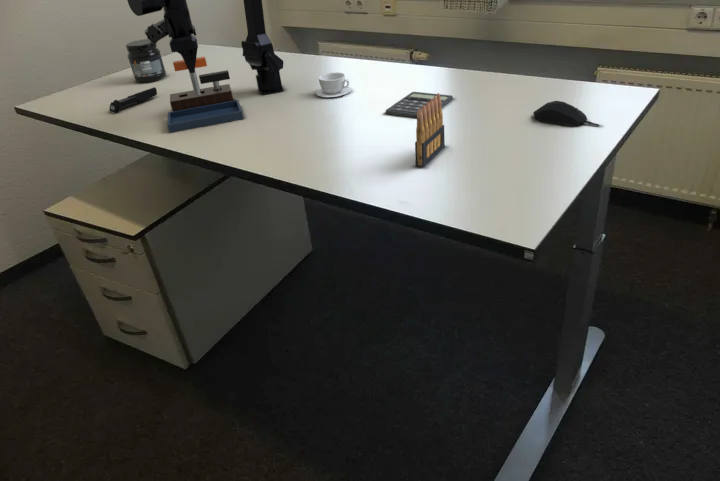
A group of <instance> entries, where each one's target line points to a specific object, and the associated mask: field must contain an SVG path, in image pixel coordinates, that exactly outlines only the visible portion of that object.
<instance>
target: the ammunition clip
mask: <svg viewBox="0 0 720 481" xmlns="http://www.w3.org/2000/svg"><path fill="white" fill-rule="evenodd" d="M436 94H437V97H436V96H434V98H433V100H432V99H430V102H429V103H428V102H427V103H426V106H425V105H423V106H422V110H421V109H420V108H419V109H418V113H417V117H416V130H415V134H416V135H415V136H416V137H415V138H416V141H415V142H414V146H415V147H414V155H415V156H414V157H415V158H414V159H415V161H414V162H415V167H418V168H425V167H426V166H427V165H428V164H430V162H431V161H433V159H434V158H435V157H436V156H438V154H440V153H441V152H442V150H444V149H445V147H446V142H445V141H446V140H445V138H446V137H445V124H444V116H443V115H444V113H443V107H442V105H441V97H440V94H441V93H439V92H437V93H436Z"/></svg>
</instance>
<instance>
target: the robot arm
mask: <svg viewBox="0 0 720 481" xmlns="http://www.w3.org/2000/svg"><path fill="white" fill-rule="evenodd" d="M126 1H127V4H128V7H129V8H130V10H131V12H132V13H133V14H134V15H135V16H137V17H142V16H144V15H145V16H146V15H149V14H154V13H157V12H161V11H162V10H163V19H161V20H159V21H157V22H156V23H151V24H150V25H148V26H147V28H146V29H145V30H144V35H145V36H146V39H149V40H150V41H151V43H152V44H155V43H156V44H158V42H159V41H161V40H162V39H164V38H166V37H168V38H170V40H169V47H170V51H171V53H177V54H179V55H180V56H181V58H182V60H184V62H185V64H186V66H187V68H188V69H187V70H188V73H189V72H190V73H194V72H196V68H195V64H196V58H197V56H198V49H199V45H198V38H197V37H196V36H197V30H196V27H195V25H194V24H193V21H192V18H191V14H190V9H189V6H188V1H187V0H126ZM243 7H244V15H245V23H246V30H247V36H246V38H245V40H242V41H241V48H242V57H243V58H244V60H245V62H246V63H247V64H248V65H249V66H250V68H251V70H252V71H255V72H256V75H255V80H256V86H257V89H258V92H260V93H261V95H267V94H273V93H278V92H284V87H283V85H282V79H281V73H280V71H281V70H282V69H284V60H283V59H282V58H280V57H279V56H278V55H277V54H276V53H275V49H274V45H273V42H272V41H271V39H270V37H269V36H268V34H267V32H266V24H265V16H264V15H265V14H264V6H263V0H243Z"/></svg>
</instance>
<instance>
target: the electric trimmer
mask: <svg viewBox="0 0 720 481" xmlns="http://www.w3.org/2000/svg"><path fill="white" fill-rule="evenodd" d="M157 95H158V91H157V88H156V86H155V87H151V88H148V89H145V90H142V91H140V92H136V93H133V94H131V95H127V96H126V97H124V98H121V99H119V100H117V99H114V100H113V101H111V102H110V104H109V109H108V110H109V112H110V113H112V114H115V113H116V114H117V113H119V112H120V111H121V110H123V109H126V108H128V107H131V106H133V105H136V104H142V103H143V102H146V101H148V100H149V99H152V98H153V97H155V96H157Z"/></svg>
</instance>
